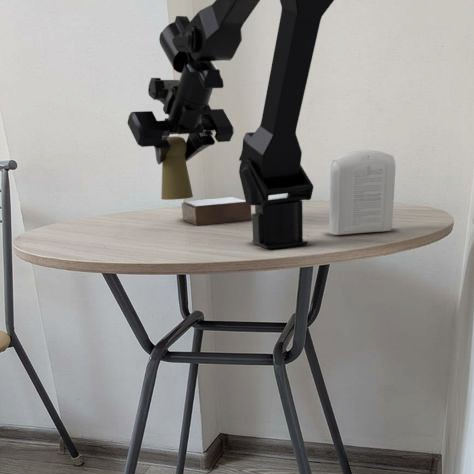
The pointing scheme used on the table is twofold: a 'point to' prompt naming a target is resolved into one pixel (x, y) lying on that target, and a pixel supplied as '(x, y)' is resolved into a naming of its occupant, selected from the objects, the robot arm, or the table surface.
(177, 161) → the cork
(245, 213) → the block
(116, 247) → the table surface
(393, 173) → the white upright block
